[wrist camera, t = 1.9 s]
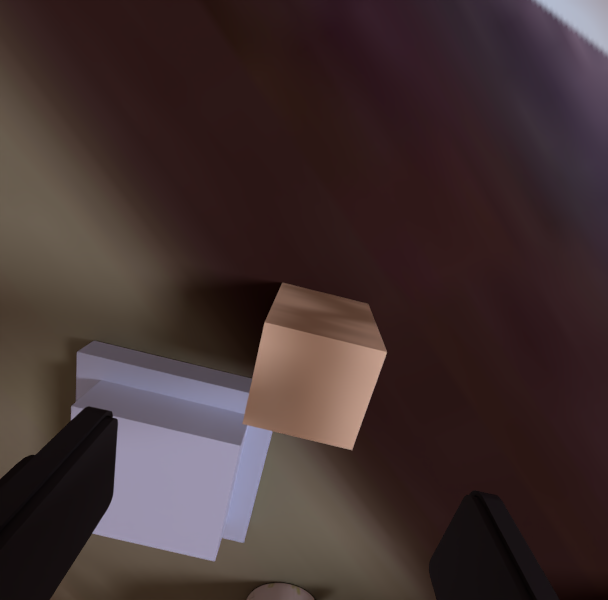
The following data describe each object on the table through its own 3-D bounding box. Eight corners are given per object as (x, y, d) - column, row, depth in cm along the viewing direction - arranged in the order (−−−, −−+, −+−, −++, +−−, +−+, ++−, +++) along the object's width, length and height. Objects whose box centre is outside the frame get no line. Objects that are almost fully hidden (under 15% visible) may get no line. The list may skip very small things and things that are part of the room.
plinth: (283, 386, 21) (274, 429, 17) (248, 522, 25) (234, 582, 21) (94, 340, 21) (42, 374, 17) (88, 485, 24) (44, 539, 21)
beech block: (368, 303, 19) (387, 352, 13) (344, 378, 21) (351, 450, 15) (282, 282, 19) (264, 322, 13) (264, 359, 20) (242, 424, 15)
